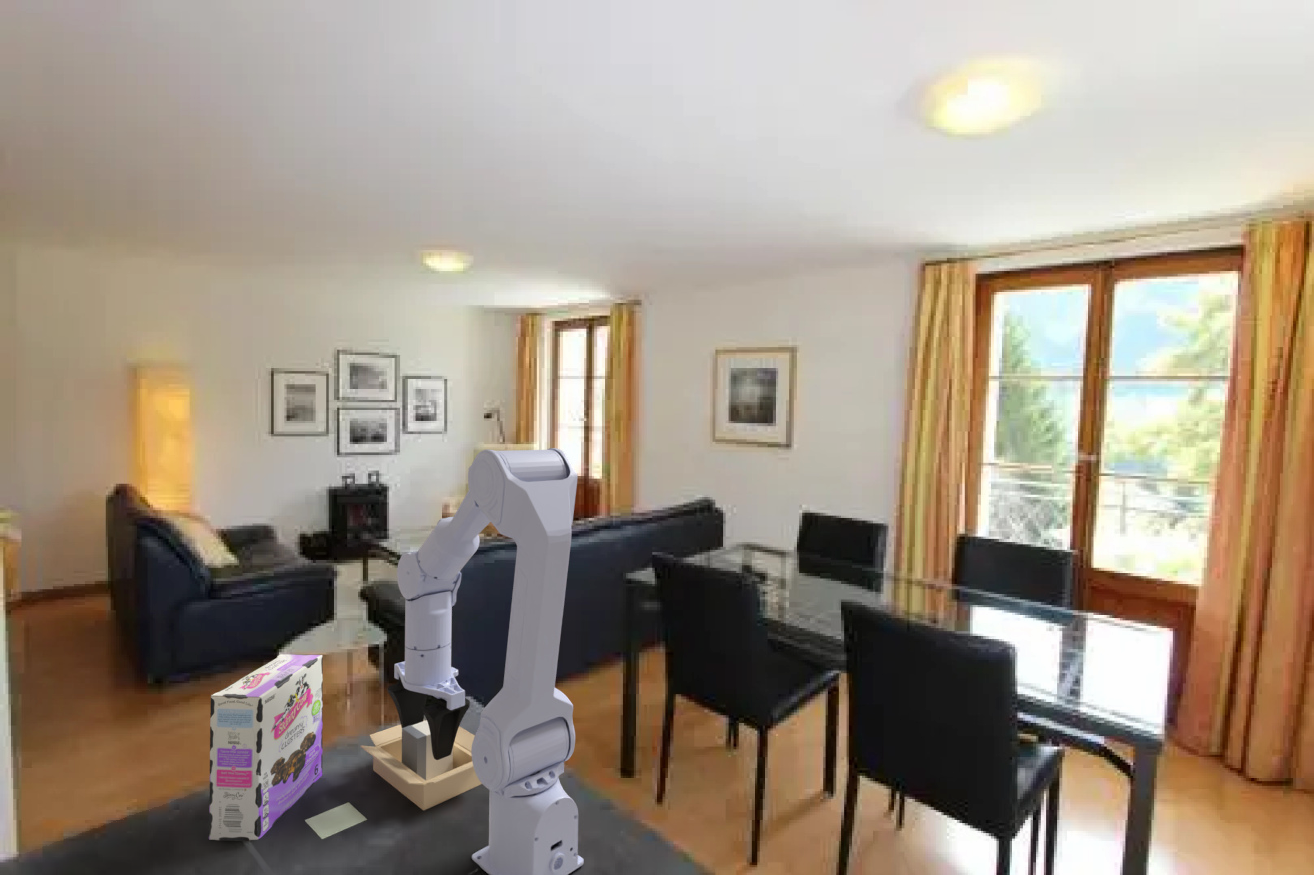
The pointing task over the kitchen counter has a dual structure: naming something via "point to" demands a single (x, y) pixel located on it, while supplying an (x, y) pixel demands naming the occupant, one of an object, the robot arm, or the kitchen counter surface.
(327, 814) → the mat
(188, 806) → the kitchen counter surface
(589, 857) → the kitchen counter surface
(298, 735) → the candy box
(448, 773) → the carton
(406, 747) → the block
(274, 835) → the kitchen counter surface
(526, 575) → the robot arm
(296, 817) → the kitchen counter surface
